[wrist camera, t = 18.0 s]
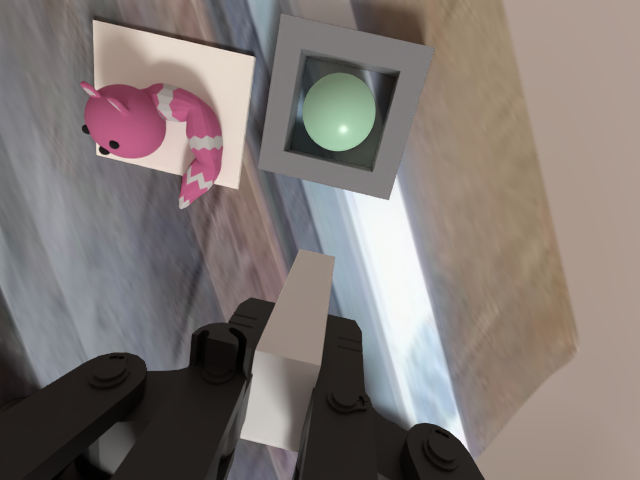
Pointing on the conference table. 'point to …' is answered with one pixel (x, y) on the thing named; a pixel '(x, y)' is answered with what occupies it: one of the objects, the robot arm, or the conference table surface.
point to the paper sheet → (184, 72)
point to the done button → (339, 111)
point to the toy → (156, 128)
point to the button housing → (350, 50)
